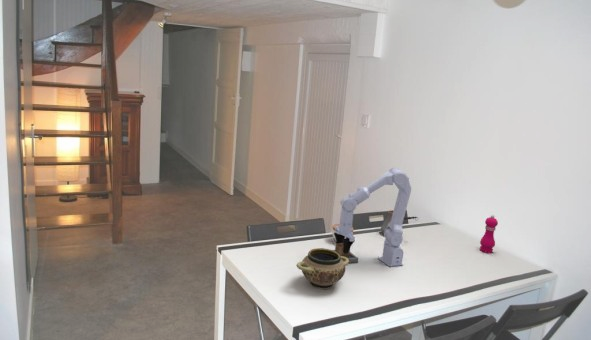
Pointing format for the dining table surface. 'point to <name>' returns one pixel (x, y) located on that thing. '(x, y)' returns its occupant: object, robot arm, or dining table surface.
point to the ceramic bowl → (323, 267)
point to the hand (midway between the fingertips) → (342, 250)
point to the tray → (351, 258)
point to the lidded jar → (336, 231)
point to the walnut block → (341, 250)
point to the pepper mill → (489, 235)
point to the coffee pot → (390, 220)
